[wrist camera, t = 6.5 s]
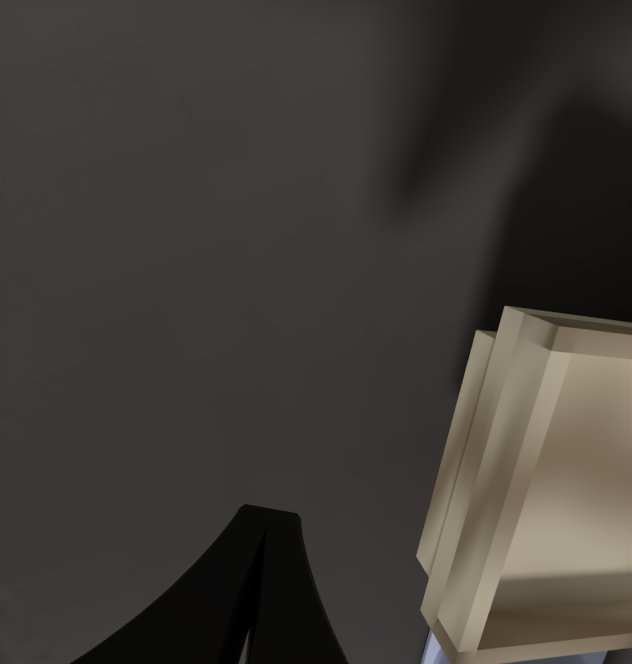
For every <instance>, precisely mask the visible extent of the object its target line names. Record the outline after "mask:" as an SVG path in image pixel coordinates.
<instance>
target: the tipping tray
mask: <svg viewBox="0 0 632 664" xmlns="http://www.w3.org/2000/svg"><path fill="white" fill-rule="evenodd" d="M416 557H417V558H418V560H419V562H420V563H421V565H422V566H423V568H424V570H425V571H426V573H427V574H428V576H429V581H428V585H427V588H426V592H425V596H424V599H423V603H422V607H421V612H422V614H423V616H424V618H425V619H426V621H427V623H428V625H429V627H430V628H431V630H432V632H433V634H434V636H435V638H436V639H437V641H438V643H439V645H440V647H441V649H442V650H443V652H444V654H445V656H446V658H447V660H448V661H449V663H450V664H501V663H510V662H518V661H526V660H534V659H543V658H551V657H559V656H567V655H576V654H584V653H592V652H600V651H609V650H617V649H625V648H632V323H630V322H623V321H615V320H608V319H600V318H593V317H586V316H578V315H571V314H563V313H556V312H548V311H541V310H533V309H526V308H518V307H511V306H505V307H504V310H503V314H502V317H501V321H500V325H499V328H498V332H492V331H483V330H476V333H475V337H474V341H473V345H472V348H471V352H470V356H469V360H468V363H467V367H466V371H465V375H464V378H463V382H462V386H461V390H460V394H459V397H458V401H457V405H456V409H455V412H454V416H453V420H452V424H451V428H450V431H449V435H448V439H447V443H446V446H445V450H444V454H443V458H442V462H441V465H440V469H439V473H438V477H437V480H436V484H435V488H434V492H433V495H432V499H431V503H430V507H429V511H428V514H427V518H426V522H425V526H424V529H423V533H422V537H421V541H420V545H419V548H418V552H417V556H416Z"/></svg>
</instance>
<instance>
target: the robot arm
mask: <svg viewBox="0 0 632 664" xmlns="http://www.w3.org/2000/svg"><path fill="white" fill-rule="evenodd" d="M248 631H249V635H248V644H247V652H246V661H245V664H349V663H348V661H347V659H346V657H345V655H344V653H343V651H342V649H341V647H340V645H339V643H338V640H337V638H336V636H335V634H334V631H333V629H332V627H331V624H330V622H329V620H328V617H327V615H326V612H325V609H324V607H323V604H322V602H321V599H320V596H319V593H318V591H317V588H316V585H315V581H314V578H313V575H312V572H311V568H310V565H309V561H308V558H307V554H306V549H305V545H304V540H303V535H302V527H301V518H300V517H299V515H298V514H297V513H292V512H286V511H281V510H275V509H270V508H264V507H259V506H253V505H248V504H245V505H243V506H242V507H240V508H239V510H238V512H237V513H236V515H235V516H234V518H233V519H232V520H231V522H230V523H229V524H228V526H227V527H226V528H225V529H224V531H223V532H222V533H221V534H220V536H219V537H218V538H217V539H216V540H215V541H214V543H213V544H212V545H211V546H210V547H209V548H208V549H207V550H206V552H205V553H204V554H203V555H202V556H201V557H200V558H199V559H198V560H197V561H196V562H195V563H194V565H193V566H191V567H190V568H189V569H188V570H187V571H186V572H185V573H184V574H183V575H182V576H181V577H180V578H179V579H178V580H177V581H176V582H175V583H174V584H173V585H172V586H171V587H170V588H169V589H168V590H167V591H166V592H164V593H163V594H162V595H161V596H160V597H159V598H158V599H157V600H155V601H154V602H153V603H152V604H151V605H150V606H148V607H147V608H146V609H145V610H143V611H142V612H141V613H140V614H139V615H137V616H136V617H135V618H134V619H132V620H131V621H130V622H128V623H127V624H126V625H124V626H123V627H122V628H120V629H119V630H118V631H116V632H115V633H114V634H112V635H111V636H110V637H108V638H107V639H106V640H104V641H103V642H101V643H100V644H99V645H97V646H96V647H94V648H93V649H91V650H90V651H89V652H87V653H86V654H84V655H83V656H81V657H79V658H78V659H76V660H75V661H73V662H71V663H70V664H239V660H240V657H241V654H242V650H243V647H244V644H245V641H246V637H247V634H248ZM606 654H607V651H600V652H592V653H584V654H576V655H567V656H559V657H551V658H543V659H534V660H526V661H518V662H510V663H501V664H603V661H604V659H605V656H606ZM420 664H450V663H449V661H448V660H447V658H446V656H445V654H444V652H443V650H442V649H441V647H440V645H439V643H438V641H437V639H436V638H435V636H434V634H433V632H432V630H431V628H430V632H429V635H428V639H427V642H426V646H425V649H424V653H423V656H422V660H421V663H420Z"/></svg>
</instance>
